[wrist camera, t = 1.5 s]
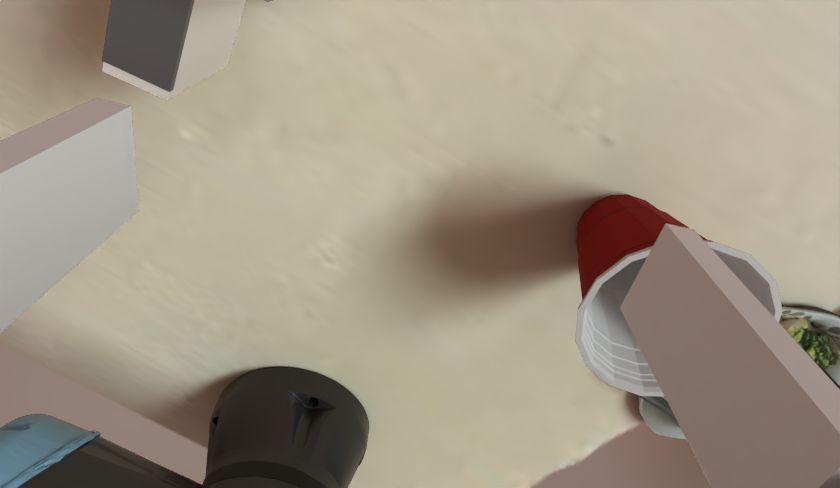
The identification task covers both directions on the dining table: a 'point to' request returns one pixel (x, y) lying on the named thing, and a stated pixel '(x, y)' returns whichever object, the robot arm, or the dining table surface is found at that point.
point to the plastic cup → (613, 277)
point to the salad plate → (809, 326)
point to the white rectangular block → (169, 42)
